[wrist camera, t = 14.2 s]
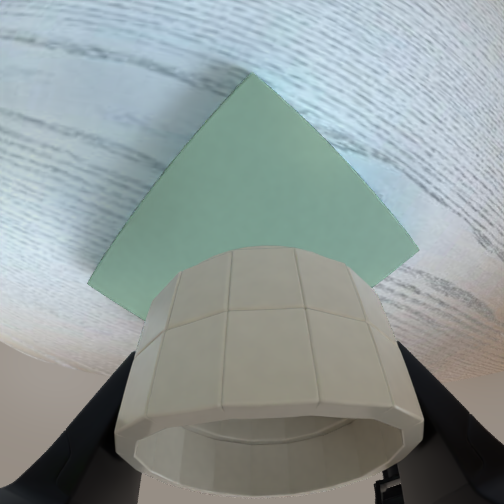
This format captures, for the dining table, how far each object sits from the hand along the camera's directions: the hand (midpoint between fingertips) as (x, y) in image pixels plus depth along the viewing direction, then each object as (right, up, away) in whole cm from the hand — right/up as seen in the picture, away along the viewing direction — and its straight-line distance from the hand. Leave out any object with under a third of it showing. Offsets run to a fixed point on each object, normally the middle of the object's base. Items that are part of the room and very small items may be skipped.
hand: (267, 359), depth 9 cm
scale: (-1, +3, +8) cm, 9 cm away
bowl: (0, +1, +1) cm, 1 cm away
